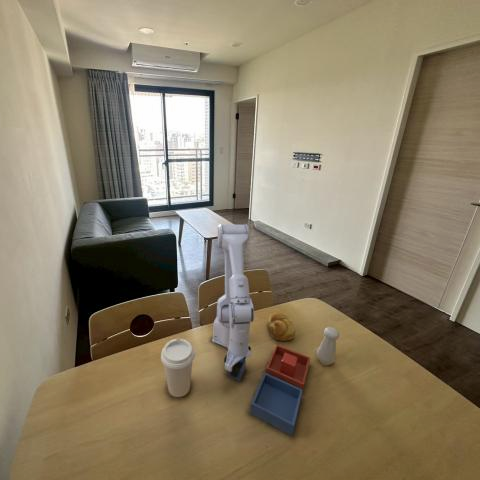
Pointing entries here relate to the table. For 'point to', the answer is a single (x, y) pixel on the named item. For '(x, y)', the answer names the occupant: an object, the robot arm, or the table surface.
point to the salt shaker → (328, 347)
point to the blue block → (239, 371)
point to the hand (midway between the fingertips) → (236, 370)
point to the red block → (288, 365)
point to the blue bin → (277, 403)
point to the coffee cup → (178, 366)
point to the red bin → (300, 369)
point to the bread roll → (281, 327)
